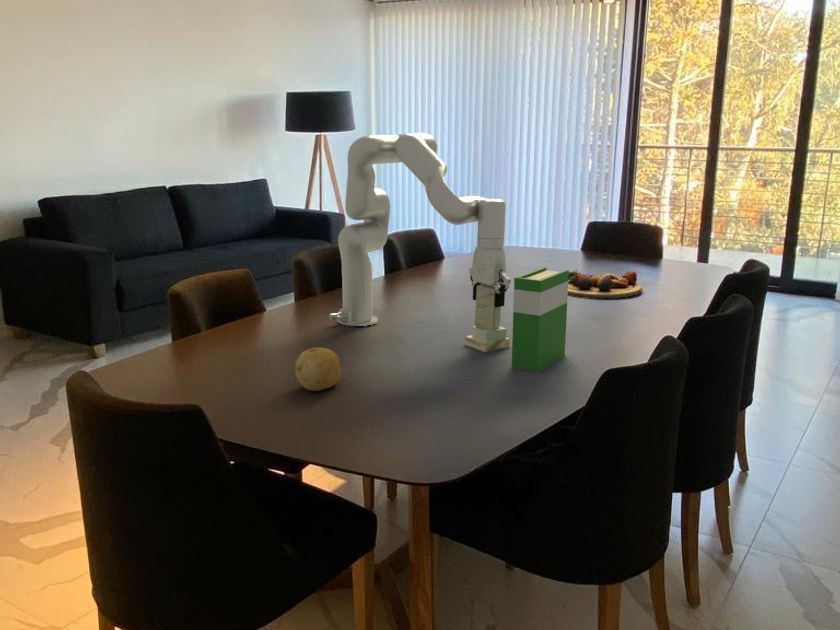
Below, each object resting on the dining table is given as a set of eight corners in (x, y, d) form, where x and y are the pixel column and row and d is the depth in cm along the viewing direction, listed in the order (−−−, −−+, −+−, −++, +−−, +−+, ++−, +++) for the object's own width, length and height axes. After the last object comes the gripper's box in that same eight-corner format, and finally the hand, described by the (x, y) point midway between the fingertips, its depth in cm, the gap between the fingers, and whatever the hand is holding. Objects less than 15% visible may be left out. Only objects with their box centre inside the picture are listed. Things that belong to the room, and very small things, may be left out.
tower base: (484, 353, 218) (485, 343, 217) (465, 346, 225) (465, 336, 224) (509, 348, 223) (509, 338, 222) (489, 341, 230) (489, 331, 229)
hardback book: (540, 351, 219) (543, 267, 213) (564, 355, 215) (568, 270, 209) (511, 367, 204) (514, 277, 199) (537, 372, 200) (540, 280, 195)
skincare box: (474, 327, 222) (475, 285, 219) (482, 323, 226) (483, 282, 222) (493, 330, 219) (495, 289, 215) (501, 326, 222) (502, 285, 219)
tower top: (486, 342, 218) (486, 332, 217) (472, 336, 224) (472, 326, 223) (506, 338, 222) (506, 328, 221) (491, 333, 227) (492, 323, 227)
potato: (351, 384, 191) (350, 345, 189) (317, 399, 181) (316, 358, 178) (319, 377, 196) (318, 339, 194) (285, 391, 186) (283, 351, 184)
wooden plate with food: (634, 283, 311) (635, 263, 309) (649, 300, 280) (650, 277, 278) (553, 283, 315) (554, 263, 313) (559, 300, 284) (560, 277, 282)
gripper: (461, 240, 221) (459, 298, 226) (500, 249, 208) (497, 311, 212) (481, 238, 225) (479, 295, 230) (521, 246, 212) (518, 307, 216)
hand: (488, 302), depth 221 cm, fingers open, 9 cm apart
